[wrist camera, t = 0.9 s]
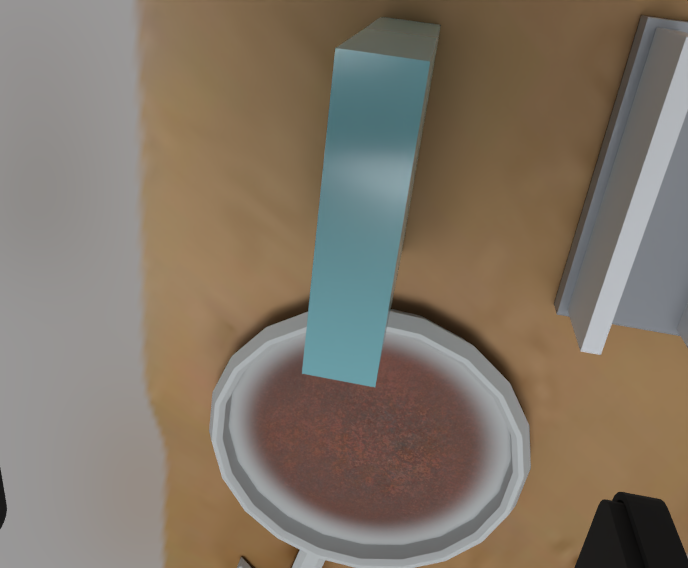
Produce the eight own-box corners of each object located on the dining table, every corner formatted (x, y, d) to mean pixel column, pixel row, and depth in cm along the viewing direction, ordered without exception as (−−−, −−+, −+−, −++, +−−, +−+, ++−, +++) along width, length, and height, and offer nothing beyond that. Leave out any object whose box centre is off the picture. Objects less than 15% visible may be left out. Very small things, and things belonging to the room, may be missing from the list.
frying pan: (145, 618, 43) (245, 264, 29) (163, 580, 45) (263, 239, 32) (387, 708, 43) (599, 397, 29) (391, 665, 45) (589, 361, 32)
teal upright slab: (381, 16, 26) (335, 47, 16) (440, 24, 26) (430, 61, 16) (351, 243, 31) (301, 373, 21) (402, 251, 30) (375, 387, 21)
